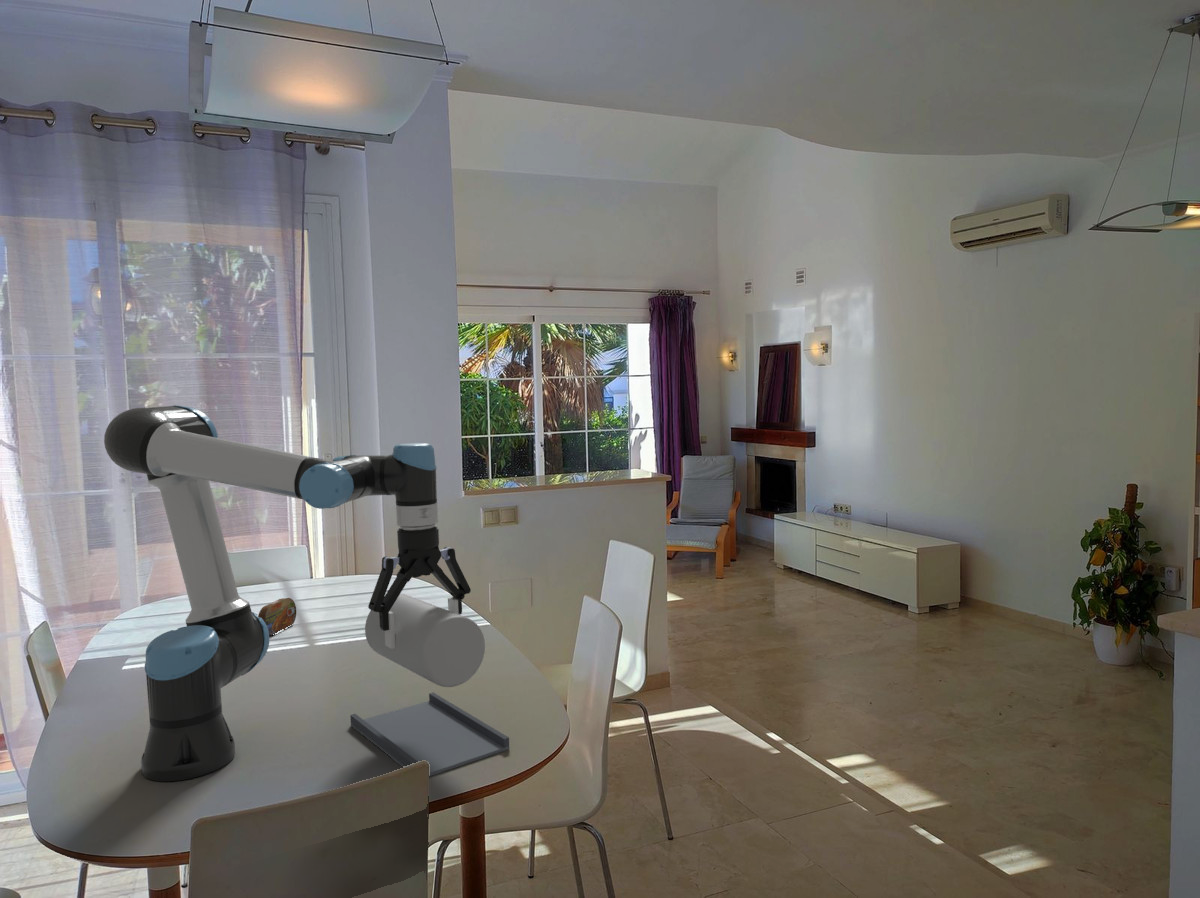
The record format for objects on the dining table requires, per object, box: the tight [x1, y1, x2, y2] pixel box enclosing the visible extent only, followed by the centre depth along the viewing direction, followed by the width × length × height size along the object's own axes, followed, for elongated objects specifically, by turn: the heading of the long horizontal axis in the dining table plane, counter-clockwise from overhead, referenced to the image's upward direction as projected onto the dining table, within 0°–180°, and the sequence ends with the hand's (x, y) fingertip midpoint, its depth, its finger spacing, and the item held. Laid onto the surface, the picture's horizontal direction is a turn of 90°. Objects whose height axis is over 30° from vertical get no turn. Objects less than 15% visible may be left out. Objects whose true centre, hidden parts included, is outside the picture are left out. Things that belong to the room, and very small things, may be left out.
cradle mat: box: [349, 691, 510, 777], centre depth 158 cm, size 30×18×2 cm, turn 38°
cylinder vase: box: [364, 593, 486, 688], centre depth 156 cm, size 12×12×25 cm
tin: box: [257, 597, 297, 636], centre depth 231 cm, size 15×3×8 cm, turn 168°
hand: (423, 639), depth 157 cm, fingers closed on cylinder vase, 12 cm apart
